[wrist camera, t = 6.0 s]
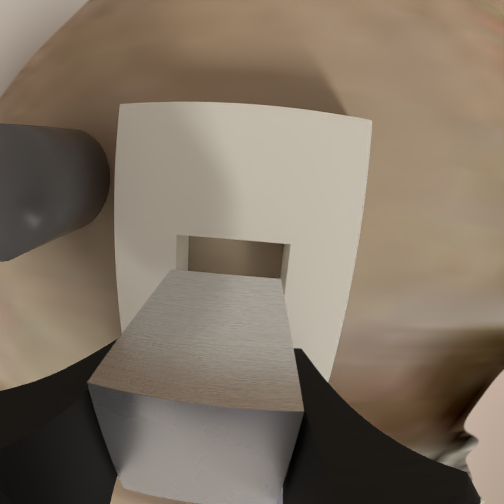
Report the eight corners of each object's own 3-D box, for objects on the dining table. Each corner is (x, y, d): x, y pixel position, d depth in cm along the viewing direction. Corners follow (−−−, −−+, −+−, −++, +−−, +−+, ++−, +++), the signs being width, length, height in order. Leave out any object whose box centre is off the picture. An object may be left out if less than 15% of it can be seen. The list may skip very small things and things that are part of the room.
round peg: (109, 232, 18) (43, 268, 11) (34, 226, 18) (-36, 255, 11) (112, 126, 16) (42, 114, 9) (34, 134, 16) (-40, 133, 9)
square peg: (269, 368, 13) (274, 509, 6) (173, 359, 13) (123, 488, 6) (280, 278, 12) (304, 411, 5) (171, 269, 12) (86, 382, 5)
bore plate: (310, 395, 21) (315, 424, 18) (145, 379, 21) (133, 405, 18) (353, 126, 16) (372, 120, 13) (141, 112, 16) (120, 103, 13)
